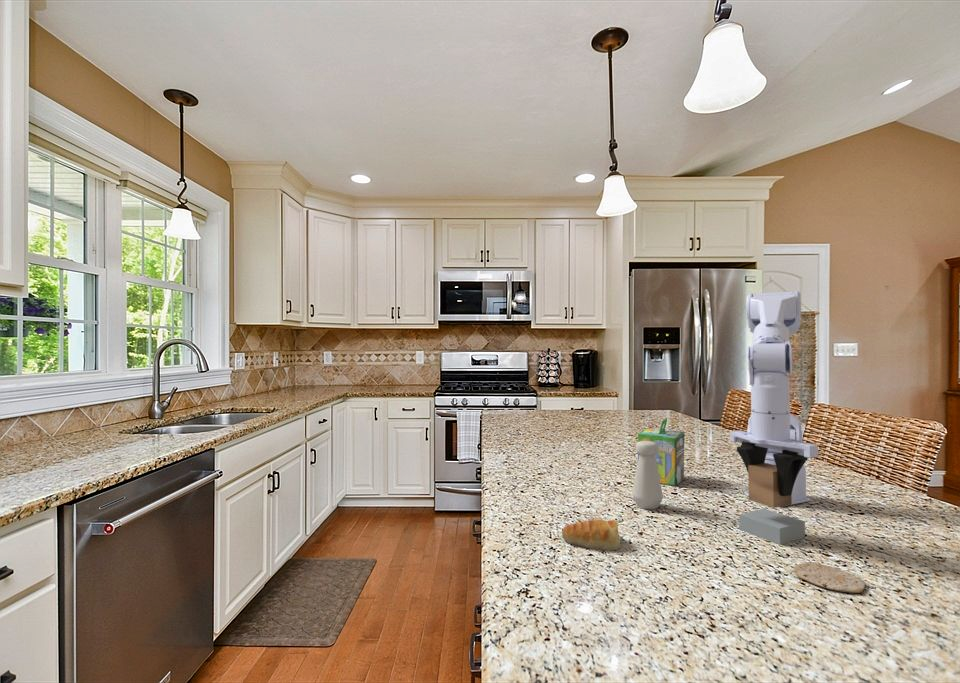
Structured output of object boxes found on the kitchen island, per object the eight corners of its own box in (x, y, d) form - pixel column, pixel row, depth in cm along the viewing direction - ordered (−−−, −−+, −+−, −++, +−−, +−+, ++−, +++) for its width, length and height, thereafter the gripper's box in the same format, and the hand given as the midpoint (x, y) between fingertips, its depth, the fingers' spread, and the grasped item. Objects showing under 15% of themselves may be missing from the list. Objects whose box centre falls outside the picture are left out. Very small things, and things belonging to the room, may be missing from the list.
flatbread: (782, 573, 66) (782, 566, 66) (814, 563, 69) (814, 556, 69) (846, 601, 59) (846, 593, 59) (879, 589, 62) (879, 581, 62)
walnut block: (766, 496, 83) (765, 462, 83) (791, 504, 79) (791, 468, 79) (748, 499, 81) (748, 465, 81) (773, 508, 77) (772, 471, 77)
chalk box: (647, 472, 120) (647, 414, 120) (685, 478, 114) (685, 417, 114) (636, 480, 112) (635, 419, 112) (676, 487, 107) (676, 422, 107)
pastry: (562, 549, 74) (562, 525, 74) (561, 533, 81) (561, 511, 81) (622, 553, 73) (622, 528, 73) (617, 536, 79) (616, 513, 80)
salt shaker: (665, 512, 90) (664, 445, 91) (634, 510, 91) (634, 444, 92) (659, 502, 96) (659, 439, 96) (630, 500, 97) (630, 438, 97)
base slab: (763, 524, 85) (763, 508, 85) (804, 539, 78) (804, 521, 78) (739, 531, 82) (739, 514, 82) (779, 547, 75) (779, 528, 75)
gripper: (717, 408, 85) (718, 482, 85) (797, 419, 72) (798, 506, 72) (744, 406, 88) (745, 478, 88) (826, 416, 75) (827, 501, 75)
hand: (770, 490), depth 80 cm, fingers closed on walnut block, 4 cm apart
